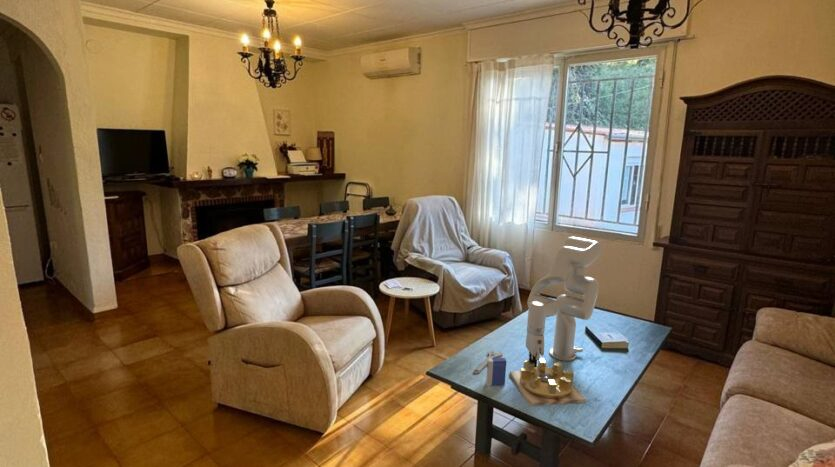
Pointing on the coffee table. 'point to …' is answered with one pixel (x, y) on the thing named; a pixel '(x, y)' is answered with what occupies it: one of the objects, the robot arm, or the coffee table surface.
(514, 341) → the coffee table surface
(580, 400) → the base plate
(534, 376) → the bevel gear
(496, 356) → the adjustable wrench
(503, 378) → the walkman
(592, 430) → the coffee table surface
